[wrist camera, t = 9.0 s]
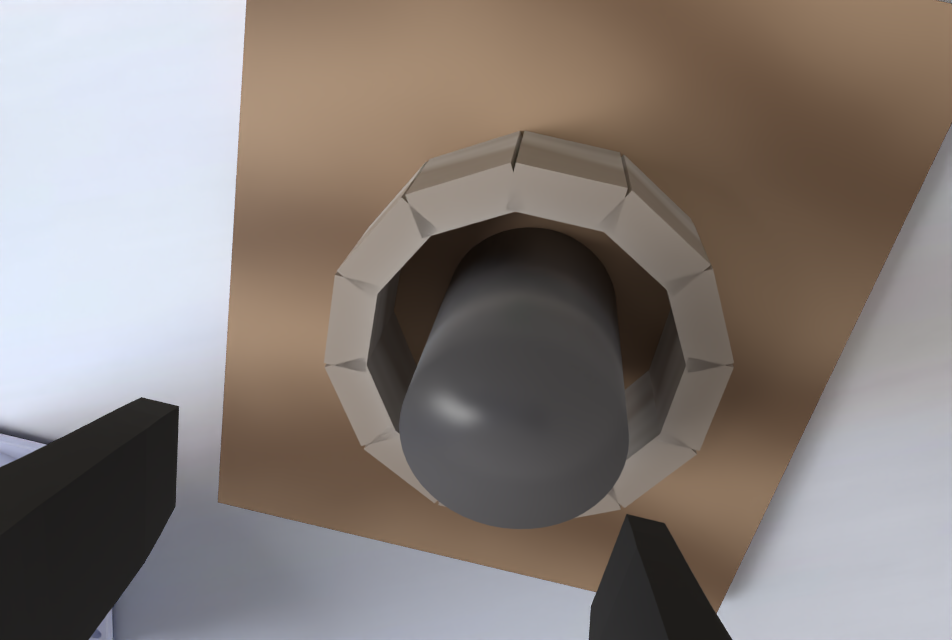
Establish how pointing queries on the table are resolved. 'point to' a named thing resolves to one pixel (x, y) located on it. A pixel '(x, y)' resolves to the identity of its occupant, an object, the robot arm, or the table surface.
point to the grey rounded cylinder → (520, 385)
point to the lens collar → (576, 215)
